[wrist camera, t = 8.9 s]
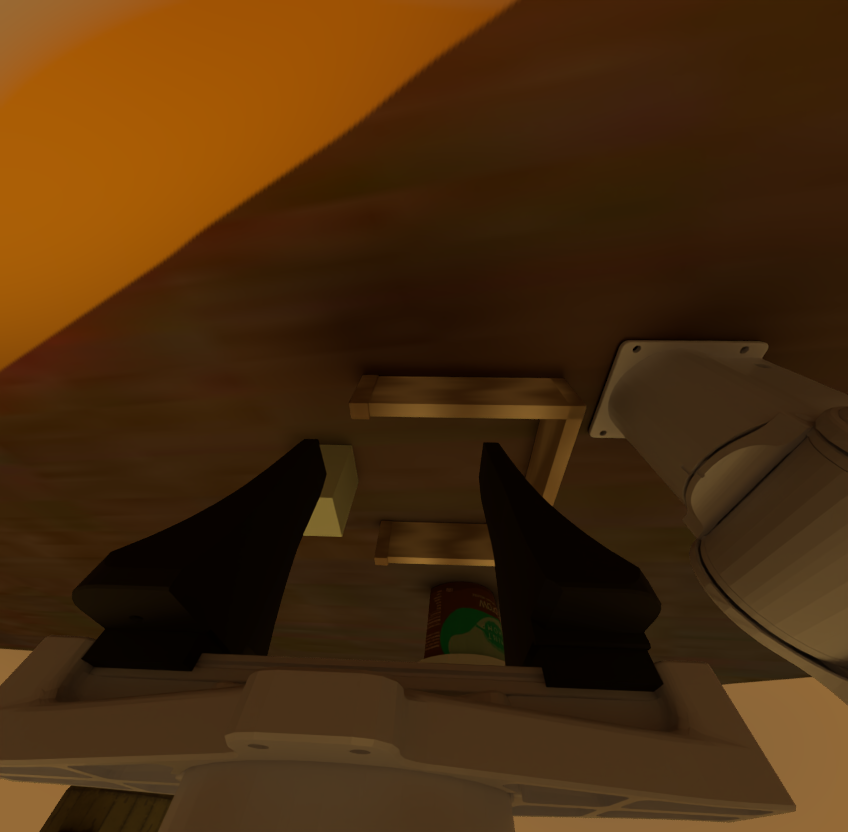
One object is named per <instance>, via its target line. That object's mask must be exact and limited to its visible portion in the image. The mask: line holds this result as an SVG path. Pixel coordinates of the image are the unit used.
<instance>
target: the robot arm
mask: <svg viewBox="0 0 848 832" xmlns="http://www.w3.org/2000/svg"><path fill="white" fill-rule="evenodd" d="M635 346H638V347H637V349H636V350H634V351H633V348H634V347H635ZM743 347H744V348H743ZM742 348H743V349H742ZM741 349H742V350H741ZM767 349H768V344H767V343H765V342H761V341H670V340H628V341H625V342H623V343H622V344H621V345H620V347H619V349H618V352H617V354H616V357H615V360H614V363H613V365H612V368H611V371H610V374H609V376H608V379H607V382H606V384H605V387H604V390H603V393H602V395H601V398H600V401H599V404H598V406H597V409H596V412H595V415H594V417H593V420H592V423H591V425H590V428H589V434H590V436H591V437H594V438H626V439H627V440H628V441H629V442H630V443H631V444H632V446H633V447H634V448H635V449H636V450H637V451H638V452H639V454H640V455H641V456H642V457H643V458H644V459H645V460H646V461H647V463H648V464H649V465H650V466H651V467H652V468H653V469H654V471H655V472H656V473H657V474H658V475H659V476H660V477H661V479H662V480H663V481H664V482H665V483H666V484H667V485H668V487H669V488H670V489H671V490H672V491H673V492H674V493H675V495H676V496H677V497H678V498H679V499H680V500H681V501H682V503H683V504H684V505H685V506H686V507H687V509H688V510H687V514H686V516H685V517H684V518H683V520H682V521H683V522H684V523H685V525H686V526H687V527H688V528H689V529H690V531H691V532H692V533H693V534H694V536H695V537H696V538H697V539H696V540H695V541H694V542H693V544H692V545H691V548H690V552H689V556H690V562H691V566H692V569H693V571H694V573H695V575H696V577H697V579H698V581H699V582H700V584H701V585H702V587H703V588H704V590H705V591H706V592H707V594H708V595H709V596H710V597H711V599H712V600H713V601H714V602H715V603H716V605H717V606H718V607H719V608H720V609H721V610H722V611H723V612H724V613H725V614H726V615H727V616H728V617H729V618H730V619H731V620H732V621H733V622H734V623H735V624H736V625H738V626H739V627H740V628H741V629H742V630H744V631H745V632H746V633H748V634H749V635H750V636H752V637H753V638H754V639H756V640H757V641H758V642H760V643H761V644H763V645H764V646H765V647H767V648H769V649H770V650H772V651H773V652H775V653H777V654H778V655H780V656H781V657H783V658H785V659H786V660H788V661H790V662H791V663H793V664H795V665H796V666H798V667H799V668H801V669H802V670H804V671H805V672H806V673H808V674H809V675H811V676H812V677H814V678H815V679H816V680H818V681H819V682H820V683H822V684H823V685H824V686H825V687H827V688H828V689H829V690H830V691H832V692H833V693H834V694H835V695H836V696H838V697H839V698H840V699H841V700H842V701H843V702H845V703H846V704H847V705H848V395H847V394H845V393H842V392H840V391H838V390H835V389H833V388H830V387H828V386H826V385H823V384H821V383H819V382H816V381H814V380H811V379H809V378H807V377H804V376H802V375H799V374H797V373H795V372H792V371H790V370H788V369H785V368H783V367H780V366H778V365H776V364H773V363H771V362H769V361H766V360H764V359H762V357H763V356H764V354H765V353H766V351H767ZM740 350H741V351H740ZM601 431H603V432H602V433H600V432H601ZM326 475H327V473H326V469H325V465H324V461H323V457H322V453H321V449H320V445H319V441H318V439H304V440H303V441H301V442H300V443H299V444H298V445H296V446H295V447H294V448H293V449H291V450H290V451H289V452H288V453H286V454H285V455H284V456H283V457H281V458H280V459H279V460H278V461H276V462H275V463H274V464H273V465H271V466H270V467H269V468H268V469H266V470H265V471H264V472H262V473H261V474H259V475H258V476H257V477H255V478H254V479H253V480H251V481H250V482H249V483H247V484H246V485H244V486H243V487H241V488H240V489H238V490H237V491H235V492H234V493H232V494H231V495H229V496H227V497H226V498H224V499H222V500H221V501H219V502H217V503H216V504H214V505H212V506H210V507H208V508H207V509H205V510H203V511H201V512H199V513H197V514H196V515H194V516H192V517H190V518H188V519H186V520H184V521H182V522H180V523H178V524H176V525H174V526H172V527H169V528H167V529H165V530H163V531H161V532H158V533H156V534H154V535H152V536H149V537H147V538H144V539H142V540H140V541H137V542H135V543H132V544H130V545H127V546H125V547H122V548H120V549H117V550H115V551H112V552H111V553H109V555H108V556H107V557H106V558H105V559H104V560H103V561H102V562H101V563H100V564H99V565H98V566H97V567H96V568H95V569H94V570H93V571H92V572H91V573H90V574H89V575H88V576H87V577H86V578H85V579H84V580H83V581H82V582H81V583H80V584H79V585H78V586H77V587H76V588H75V589H74V590H73V592H72V600H73V602H74V604H75V605H76V606H77V607H78V608H79V609H80V610H81V611H83V612H84V613H85V614H87V615H88V616H89V617H91V618H92V619H93V620H95V621H96V622H97V623H99V624H100V625H101V626H102V627H104V628H105V630H104V631H103V632H102V634H101V635H100V636H99V637H98V639H97V640H95V639H92V638H89V637H83V636H60V635H50V636H48V637H46V638H45V639H44V640H43V641H42V642H41V643H40V644H39V645H38V646H37V647H36V648H35V649H34V651H33V652H32V653H31V654H30V655H29V656H28V657H27V658H26V659H25V660H24V661H23V662H22V663H21V664H20V666H19V667H18V668H17V669H16V670H15V671H14V672H13V673H12V674H11V675H10V676H9V677H8V678H7V679H6V680H5V681H4V683H3V684H2V685H1V686H0V778H1V779H5V780H9V781H16V782H33V783H47V784H60V785H73V786H85V787H96V788H107V789H118V790H128V791H139V792H149V793H160V794H170V795H174V798H173V800H172V802H171V804H170V806H169V809H168V811H167V813H166V815H165V817H164V819H163V822H162V824H161V826H160V828H159V830H158V832H515V830H514V821H513V816H531V817H584V818H633V819H667V820H692V821H713V822H735V821H741V820H747V819H753V818H759V817H765V816H771V815H777V814H783V813H789V812H794V811H796V805H795V803H794V802H793V800H792V799H791V797H790V795H789V794H788V792H787V790H786V789H785V787H784V786H783V784H782V782H781V781H780V779H779V777H778V776H777V774H776V773H775V771H774V769H773V768H772V766H771V764H770V763H769V761H768V760H767V758H766V757H765V755H764V753H763V751H762V750H761V748H760V747H759V745H758V743H757V742H756V740H755V739H754V737H753V735H752V734H751V732H750V730H749V729H748V727H747V725H746V724H745V722H744V721H743V719H742V717H741V716H740V714H739V713H738V711H737V709H736V708H735V706H734V704H733V703H732V701H731V699H730V698H729V696H728V695H727V693H726V691H725V690H724V688H723V687H722V685H721V683H720V682H719V680H718V678H717V677H716V675H715V673H714V672H713V670H712V669H711V667H710V665H709V664H707V663H705V662H698V661H674V660H666V661H659V662H655V663H653V661H652V659H651V657H650V655H649V653H648V651H647V650H649V649H650V648H651V647H650V643H649V641H648V639H647V637H646V635H645V633H644V632H645V630H646V629H647V628H648V627H649V626H650V625H651V624H652V623H653V622H654V620H655V619H656V618H657V617H658V615H659V613H660V611H661V603H660V601H659V599H658V597H657V596H656V594H655V592H654V590H653V589H652V587H651V585H650V584H649V582H648V580H647V579H646V577H645V576H644V575H643V573H642V572H641V570H640V569H639V568H638V567H637V566H635V565H633V564H632V563H630V562H628V561H627V560H625V559H623V558H622V557H620V556H619V555H617V554H615V553H614V552H612V551H610V550H609V549H607V548H606V547H604V546H603V545H601V544H600V543H598V542H597V541H596V540H594V539H593V538H591V537H590V536H588V535H587V534H586V533H584V532H583V531H582V530H580V529H579V528H578V527H576V526H575V525H574V524H573V523H571V522H570V521H569V520H568V519H566V518H565V517H564V516H563V515H562V514H560V513H559V512H558V511H557V510H556V509H555V508H554V507H553V506H551V505H550V504H549V503H548V502H547V501H546V500H545V499H544V498H543V497H542V496H541V495H540V494H539V493H538V492H537V491H536V490H535V488H534V487H533V486H532V485H531V484H530V483H529V482H528V481H527V480H526V478H525V477H524V476H523V475H522V474H521V472H520V471H519V470H518V469H517V467H516V466H515V465H514V464H513V462H512V461H511V460H510V458H509V457H508V456H507V454H506V453H505V451H504V450H503V449H502V447H501V446H500V444H499V443H485V442H484V443H483V450H482V458H481V465H480V473H479V483H480V493H481V500H482V505H483V509H484V514H485V518H486V523H487V527H488V531H489V536H490V540H491V545H492V550H493V555H494V563H495V570H496V578H497V587H498V596H499V604H500V614H501V624H502V634H503V645H504V657H505V666H495V665H472V664H448V663H424V662H400V661H376V660H353V659H329V658H305V657H281V656H267V654H268V650H269V646H270V642H271V637H272V633H273V629H274V625H275V621H276V618H277V614H278V610H279V607H280V603H281V599H282V596H283V592H284V589H285V586H286V582H287V579H288V576H289V572H290V569H291V566H292V563H293V560H294V557H295V554H296V551H297V548H298V546H299V543H300V541H301V538H302V536H303V534H304V532H305V529H306V527H307V525H308V523H309V521H310V518H311V516H312V514H313V512H314V509H315V507H316V505H317V502H318V500H319V498H320V495H321V492H322V489H323V486H324V482H325V479H326Z"/></svg>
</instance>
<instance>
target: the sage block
mask: <svg viewBox="0 0 848 832" xmlns="http://www.w3.org/2000/svg"><path fill="white" fill-rule="evenodd" d="M320 449H321V453H322V457H323V461H324V465H325V469H326V473H327V475H326V479H325V482H324V486H323V489H322V492H321V495H320V498H319V500H318V502H317V505H316V507H315V509H314V512H313V514H312V516H311V518H310V521H309V523H308V525H307V527H306V529H305V532H304V534H303V536H338V537H342V535H343V532H344V528H345V525H346V522H347V518H348V515H349V512H350V508H351V505H352V502H353V498H354V495H355V492H356V488H357V485H358V476H357V471H356V465H355V459H354V454H353V448H352V445H320Z"/></svg>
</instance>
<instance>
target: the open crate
mask: <svg viewBox="0 0 848 832" xmlns="http://www.w3.org/2000/svg"><path fill="white" fill-rule="evenodd" d="M349 407H350V413H351V419H370V417H371V416H385V417H448V418H512V419H540V422H539V426H538V430H537V434H536V438H535V442H534V446H533V450H532V454H531V458H530V462H529V466H528V470H527V474H526V480H527V481H528V482H529V483H530V484H531V485H532V486H533V487H534V488H535V490H536V491H537V492H538V493H539V494H540V495H541V496H542V497H543V498H544V499H545V500H546V501H547V502H548V503H549V504H550V505H551V506H553V504H554V501H555V498H556V495H557V492H558V489H559V486H560V483H561V480H562V477H563V475H564V472H565V469H566V466H567V463H568V460H569V457H570V454H571V451H572V448H573V445H574V443H575V440H576V437H577V434H578V431H579V428H580V425H581V422H582V419H583V416H584V413H585V411H586V408H587V406H586V405H585V403H584V402H583V401H582V400H581V398H580V397H579V396H578V395H577V394H576V392H575V391H574V390H573V389H572V387H571V386H570V385H569V384H568V383H567V381H566V380H565V379H564V378H492V377H405V376H378V375H362V377H361V379H360V381H359V383H358V385H357V387H356V390H355V392H354V394H353V396H352V398H351V400H350V402H349ZM374 559H375V565H388V563H411V564H443V565H475V566H495V563H494V555H493V550H492V545H491V540H490V536H489V531H488V527H487V524H467V523H430V522H393V521H381V525H380V530H379V535H378V541H377V546H376V552H375V557H374Z"/></svg>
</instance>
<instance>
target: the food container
mask: <svg viewBox="0 0 848 832" xmlns="http://www.w3.org/2000/svg"><path fill="white" fill-rule="evenodd" d="M419 662H424V663H448V664H472V665H495V666H505V657H504V645H503V634H502V628H501V624H500V620H499V615H498V611H497V607H496V602H495V598H494V596H493V594H492V592H491V591H490V590H489V589H487V588H486V587H484V586H482V585H479V584H475V583H470V582H450V583H445V584H441V585H439V586H436V587H434V588H432V589H431V594H430V604H429V614H428V624H427V634H426V644H425V654H424V659H423V660H420V661H419Z"/></svg>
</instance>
